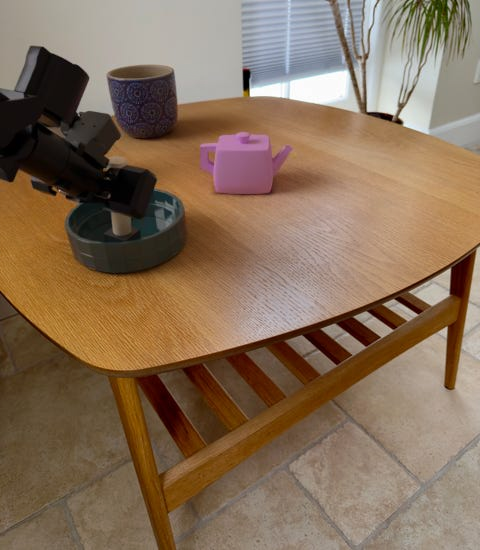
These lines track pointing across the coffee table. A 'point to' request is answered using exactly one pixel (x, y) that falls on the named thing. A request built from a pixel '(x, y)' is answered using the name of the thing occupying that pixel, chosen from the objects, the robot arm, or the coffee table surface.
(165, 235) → the basin
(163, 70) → the planter
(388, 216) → the coffee table surface
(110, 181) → the robot arm
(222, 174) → the teapot
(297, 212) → the coffee table surface
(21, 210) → the coffee table surface
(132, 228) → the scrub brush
